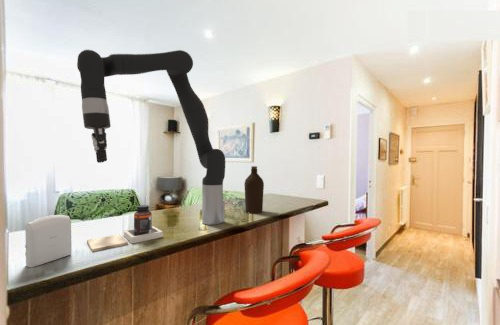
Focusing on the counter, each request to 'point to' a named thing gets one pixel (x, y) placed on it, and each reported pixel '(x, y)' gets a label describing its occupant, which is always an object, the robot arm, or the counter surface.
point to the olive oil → (254, 192)
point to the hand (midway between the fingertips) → (101, 161)
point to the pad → (106, 242)
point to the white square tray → (133, 239)
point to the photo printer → (47, 239)
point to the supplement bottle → (142, 220)
